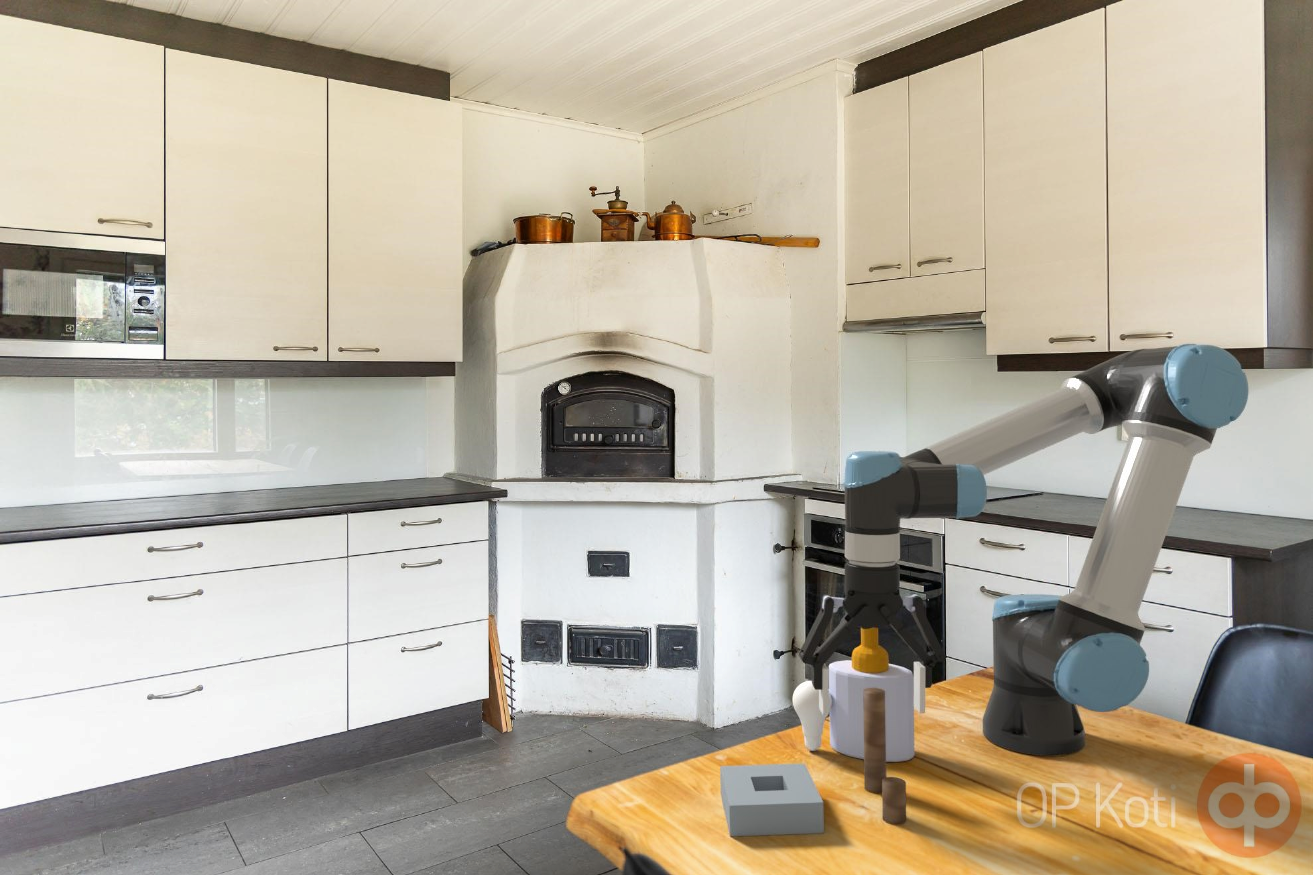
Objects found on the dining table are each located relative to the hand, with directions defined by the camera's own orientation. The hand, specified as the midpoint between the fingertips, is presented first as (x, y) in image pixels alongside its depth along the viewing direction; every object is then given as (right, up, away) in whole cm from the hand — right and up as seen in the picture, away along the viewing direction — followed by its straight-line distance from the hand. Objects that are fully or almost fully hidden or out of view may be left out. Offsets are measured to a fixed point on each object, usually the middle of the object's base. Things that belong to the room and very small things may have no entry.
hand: (871, 710), depth 123 cm
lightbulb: (-6, -11, +14) cm, 19 cm away
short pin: (+1, -12, -8) cm, 14 cm away
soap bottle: (+3, -11, +14) cm, 18 cm away
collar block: (-15, -12, -6) cm, 20 cm away
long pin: (+1, -11, +1) cm, 11 cm away
